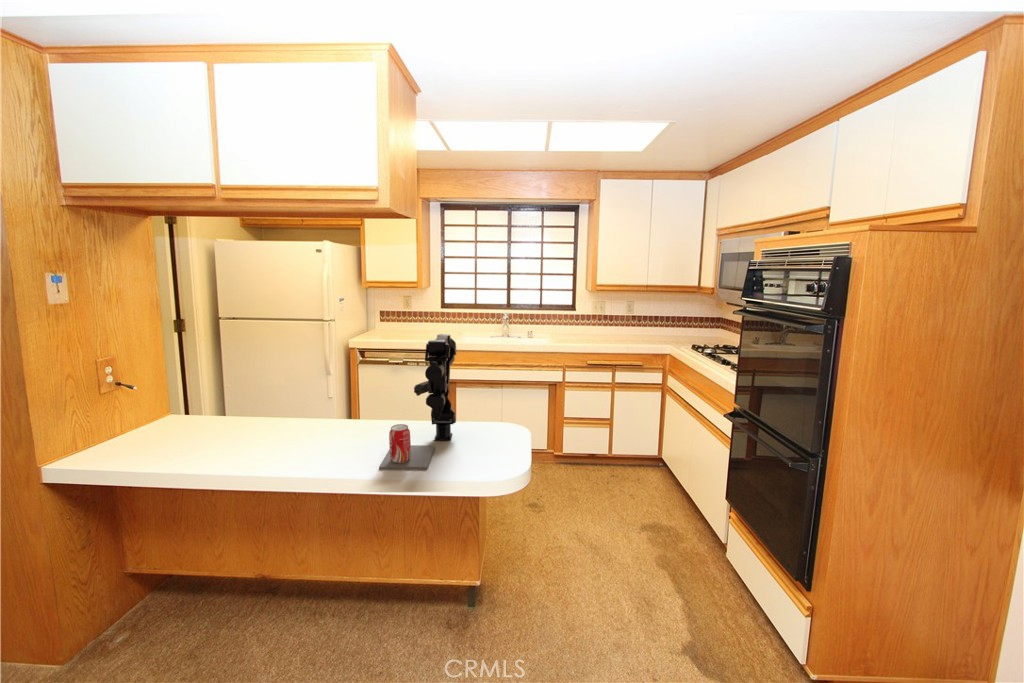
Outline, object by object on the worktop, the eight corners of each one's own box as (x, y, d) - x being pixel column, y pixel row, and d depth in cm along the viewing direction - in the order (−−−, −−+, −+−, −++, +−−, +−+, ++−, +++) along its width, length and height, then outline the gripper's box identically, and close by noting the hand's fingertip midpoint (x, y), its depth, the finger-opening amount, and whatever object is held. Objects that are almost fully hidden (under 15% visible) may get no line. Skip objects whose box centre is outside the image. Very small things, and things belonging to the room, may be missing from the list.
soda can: (387, 458, 157) (386, 425, 155) (408, 454, 160) (407, 422, 158) (392, 466, 151) (391, 432, 149) (413, 462, 154) (412, 428, 152)
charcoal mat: (391, 447, 168) (391, 445, 168) (434, 447, 169) (434, 445, 168) (379, 469, 150) (378, 466, 150) (427, 469, 151) (427, 466, 151)
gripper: (419, 368, 171) (420, 408, 173) (410, 381, 152) (411, 425, 155) (449, 368, 171) (450, 408, 174) (443, 381, 153) (444, 425, 155)
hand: (438, 416), depth 164 cm, fingers open, 9 cm apart
